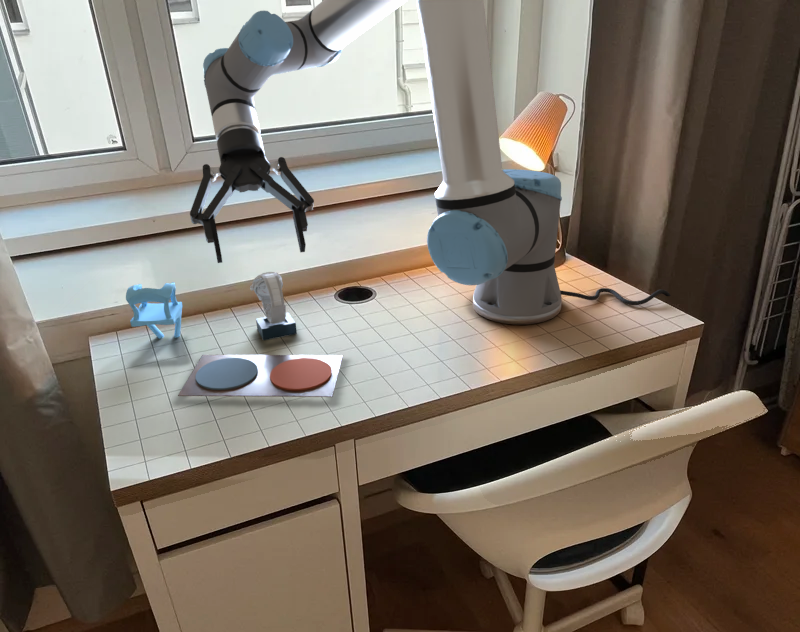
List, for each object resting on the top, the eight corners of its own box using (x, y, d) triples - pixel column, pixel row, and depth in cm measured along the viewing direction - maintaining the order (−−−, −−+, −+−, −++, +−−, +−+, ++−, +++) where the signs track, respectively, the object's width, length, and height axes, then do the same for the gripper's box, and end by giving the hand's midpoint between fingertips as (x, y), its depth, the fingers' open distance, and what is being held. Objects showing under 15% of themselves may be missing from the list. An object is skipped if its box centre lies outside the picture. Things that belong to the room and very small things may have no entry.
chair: (195, 338, 117) (181, 270, 110) (185, 363, 110) (169, 291, 103) (147, 341, 116) (131, 272, 110) (135, 365, 109) (116, 294, 103)
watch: (287, 324, 120) (280, 263, 114) (300, 344, 114) (293, 280, 108) (255, 330, 118) (245, 269, 113) (266, 351, 112) (257, 287, 106)
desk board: (343, 361, 109) (343, 354, 108) (333, 403, 99) (332, 396, 98) (203, 361, 110) (202, 354, 109) (179, 402, 100) (177, 395, 99)
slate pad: (263, 359, 108) (263, 357, 107) (250, 390, 100) (249, 388, 100) (205, 359, 108) (205, 357, 108) (187, 390, 100) (187, 388, 100)
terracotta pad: (335, 359, 107) (335, 357, 107) (327, 390, 99) (326, 389, 99) (276, 359, 107) (276, 357, 107) (264, 390, 100) (263, 388, 100)
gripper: (310, 145, 126) (334, 254, 122) (165, 158, 120) (185, 273, 116) (313, 119, 119) (338, 234, 115) (159, 132, 113) (180, 253, 109)
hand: (261, 254), depth 115 cm, fingers open, 13 cm apart
